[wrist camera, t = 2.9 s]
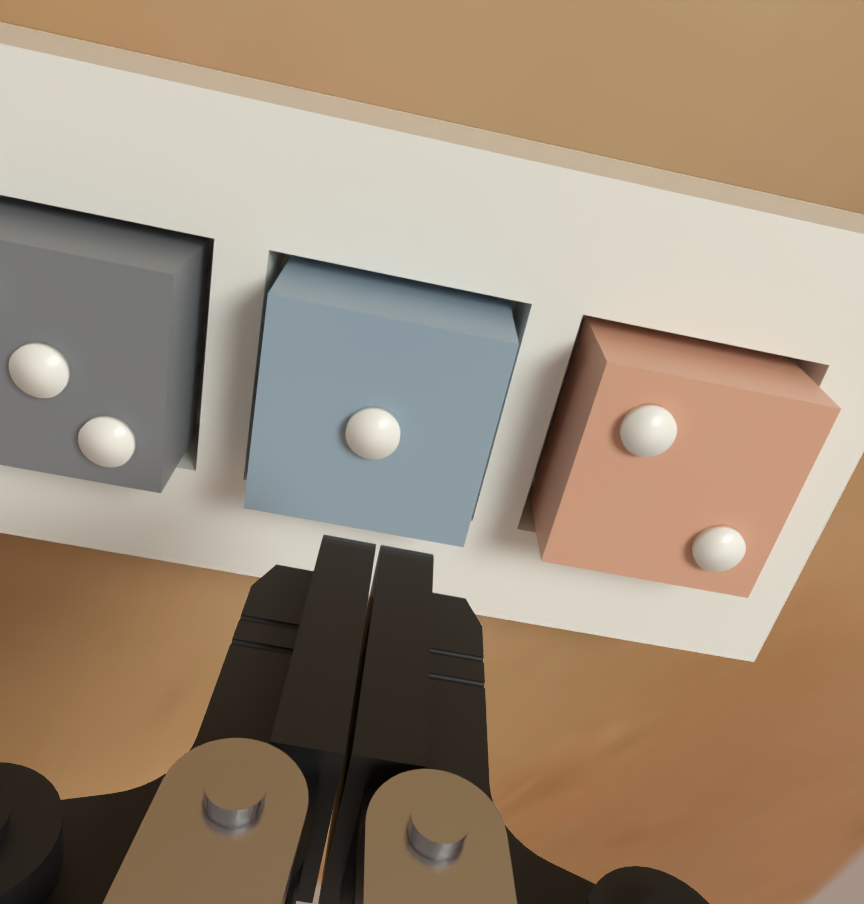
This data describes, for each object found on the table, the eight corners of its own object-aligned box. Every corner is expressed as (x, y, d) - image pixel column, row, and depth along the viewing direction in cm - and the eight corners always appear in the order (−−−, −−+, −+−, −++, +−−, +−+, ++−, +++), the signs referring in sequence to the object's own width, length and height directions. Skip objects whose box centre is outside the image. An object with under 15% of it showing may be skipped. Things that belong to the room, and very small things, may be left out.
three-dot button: (-10, 396, 18) (-80, 456, 15) (-21, 190, 16) (-105, 223, 13) (195, 434, 18) (158, 499, 16) (210, 238, 16) (169, 278, 14)
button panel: (-39, 449, 21) (-110, 513, 18) (-73, 5, 16) (-176, 4, 13) (717, 584, 22) (753, 662, 20) (886, 219, 18) (965, 256, 15)
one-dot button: (267, 447, 18) (241, 513, 16) (292, 254, 16) (265, 297, 14) (461, 483, 19) (463, 552, 16) (508, 299, 16) (520, 348, 14)
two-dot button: (529, 496, 19) (542, 566, 16) (585, 315, 17) (609, 366, 14) (712, 530, 19) (751, 604, 17) (789, 357, 17) (846, 413, 15)
